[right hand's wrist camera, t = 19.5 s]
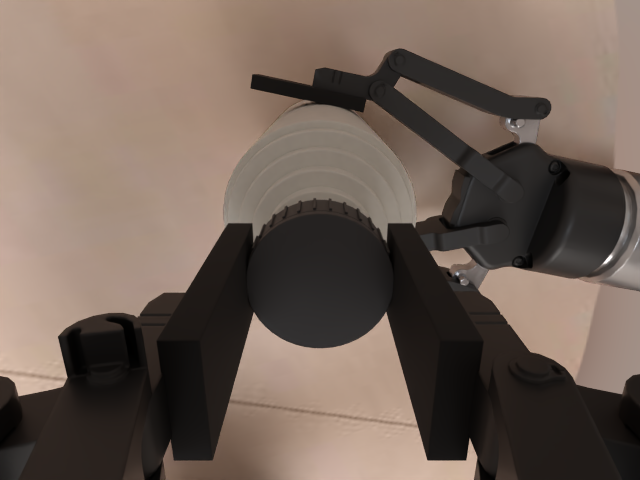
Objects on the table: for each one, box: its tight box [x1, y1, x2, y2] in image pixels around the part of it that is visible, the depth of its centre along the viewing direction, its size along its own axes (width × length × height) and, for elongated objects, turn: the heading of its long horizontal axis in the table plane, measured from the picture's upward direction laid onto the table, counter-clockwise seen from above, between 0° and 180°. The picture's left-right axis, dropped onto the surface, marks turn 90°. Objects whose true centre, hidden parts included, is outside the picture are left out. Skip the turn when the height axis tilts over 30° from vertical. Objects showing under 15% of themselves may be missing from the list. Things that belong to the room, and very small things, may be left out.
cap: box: [246, 198, 394, 348], centre depth 14 cm, size 4×4×2 cm
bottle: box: [223, 100, 417, 243], centre depth 24 cm, size 8×8×22 cm
